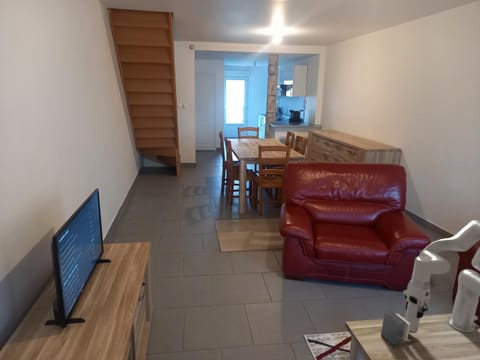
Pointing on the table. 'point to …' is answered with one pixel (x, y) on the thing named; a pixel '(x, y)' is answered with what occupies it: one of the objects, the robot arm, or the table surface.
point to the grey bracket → (394, 330)
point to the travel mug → (412, 315)
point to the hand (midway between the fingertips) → (413, 312)
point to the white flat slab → (405, 329)
